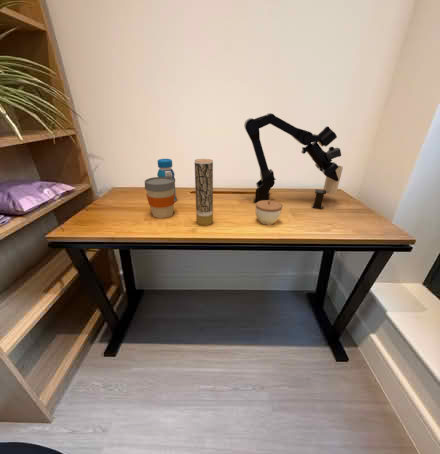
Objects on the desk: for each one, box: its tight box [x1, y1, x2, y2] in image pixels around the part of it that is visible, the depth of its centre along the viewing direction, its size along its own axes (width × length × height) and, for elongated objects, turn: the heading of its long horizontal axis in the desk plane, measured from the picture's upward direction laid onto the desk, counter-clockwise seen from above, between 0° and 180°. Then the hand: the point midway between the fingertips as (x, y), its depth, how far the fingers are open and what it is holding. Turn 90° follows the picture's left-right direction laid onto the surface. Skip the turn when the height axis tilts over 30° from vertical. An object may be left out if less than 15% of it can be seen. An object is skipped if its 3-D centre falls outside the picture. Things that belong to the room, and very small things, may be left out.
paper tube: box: [194, 158, 214, 226], centre depth 99 cm, size 7×7×25 cm
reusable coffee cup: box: [144, 176, 176, 219], centre depth 109 cm, size 13×13×15 cm
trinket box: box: [255, 199, 283, 226], centre depth 104 cm, size 11×11×9 cm
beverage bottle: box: [156, 158, 177, 203], centre depth 123 cm, size 8×8×20 cm
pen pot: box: [322, 164, 344, 195], centre depth 122 cm, size 6×6×12 cm
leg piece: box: [312, 188, 327, 210], centre depth 121 cm, size 5×5×8 cm
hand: (335, 178), depth 121 cm, fingers closed on pen pot, 6 cm apart
